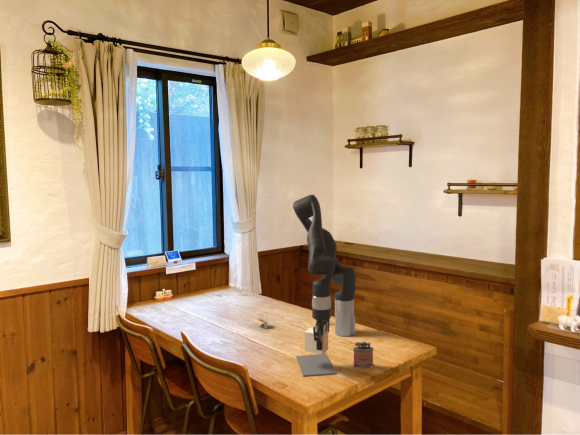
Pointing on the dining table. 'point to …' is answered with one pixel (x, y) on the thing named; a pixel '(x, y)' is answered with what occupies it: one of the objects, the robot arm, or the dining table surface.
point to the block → (311, 344)
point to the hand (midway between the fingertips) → (321, 347)
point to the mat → (315, 365)
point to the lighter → (363, 354)
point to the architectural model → (263, 320)
